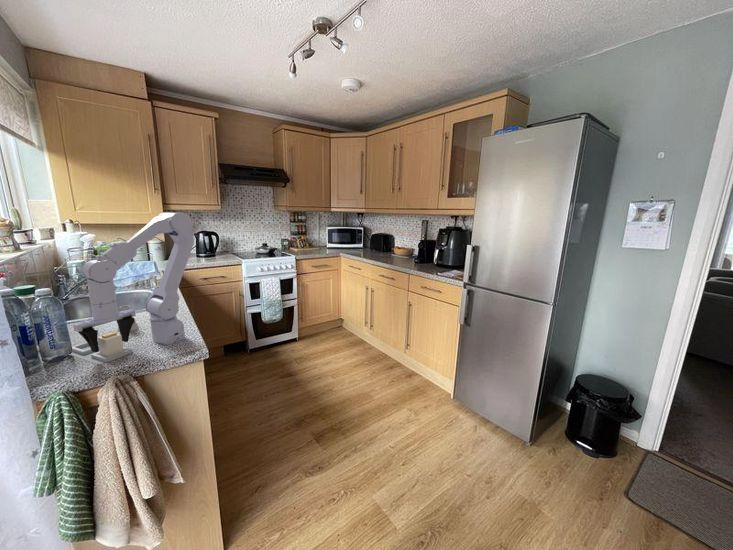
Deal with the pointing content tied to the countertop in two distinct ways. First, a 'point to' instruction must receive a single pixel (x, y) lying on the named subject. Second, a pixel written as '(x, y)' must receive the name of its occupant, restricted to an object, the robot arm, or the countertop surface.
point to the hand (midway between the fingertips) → (110, 346)
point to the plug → (110, 344)
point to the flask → (134, 326)
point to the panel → (96, 353)
